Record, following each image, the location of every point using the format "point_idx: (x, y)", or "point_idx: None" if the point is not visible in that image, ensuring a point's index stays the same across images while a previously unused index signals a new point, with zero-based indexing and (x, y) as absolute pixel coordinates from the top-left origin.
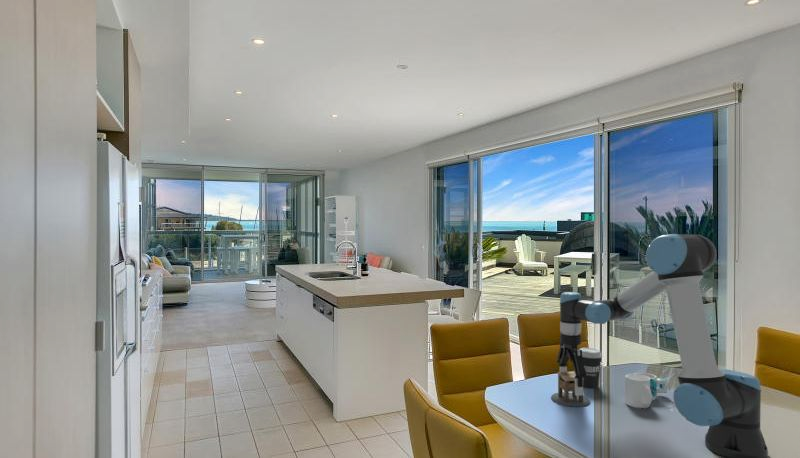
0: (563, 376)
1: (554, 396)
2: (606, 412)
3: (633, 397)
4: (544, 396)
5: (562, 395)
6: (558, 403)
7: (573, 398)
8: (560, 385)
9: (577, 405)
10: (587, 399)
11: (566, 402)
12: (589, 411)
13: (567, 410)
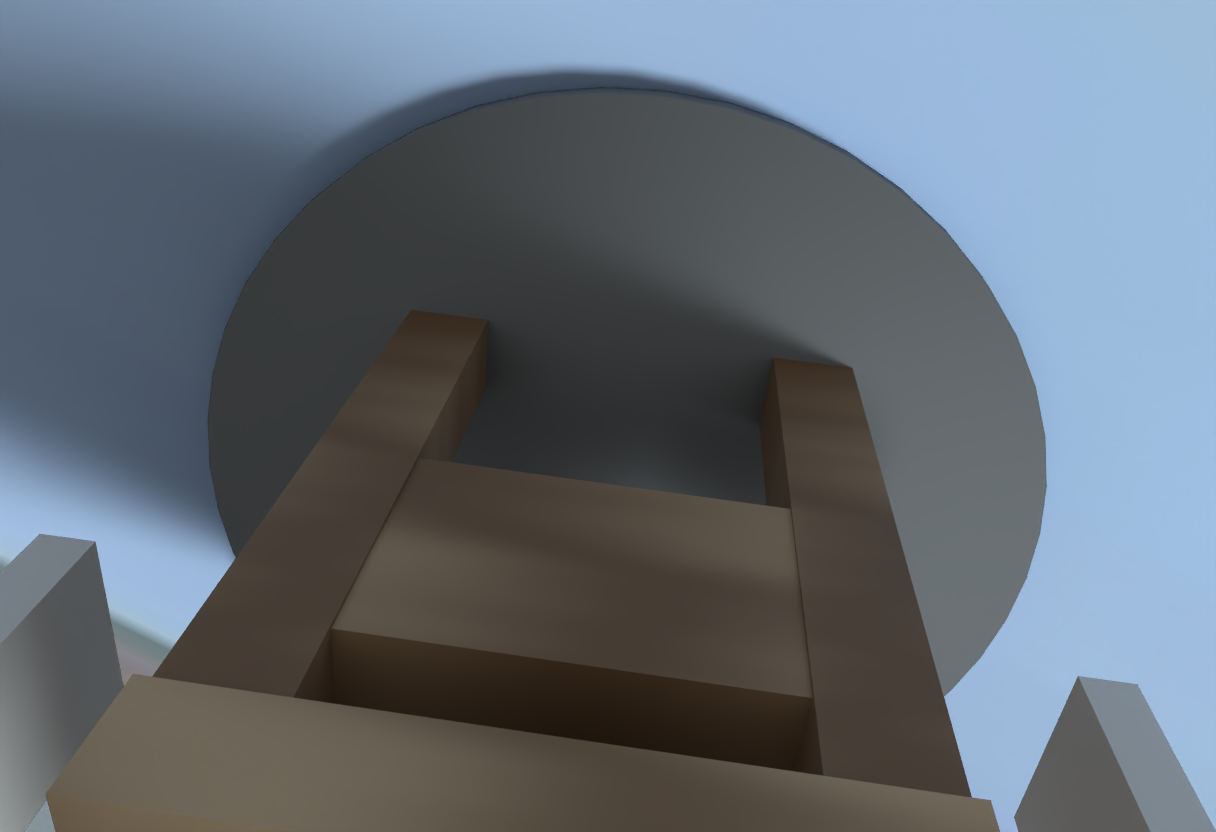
0: (288, 822)
1: (842, 259)
2: None
3: None
4: (1025, 25)
5: None
6: (421, 127)
7: None
8: (718, 535)
9: (215, 447)
10: None
11: (400, 324)
12: (15, 509)
13: (7, 115)
